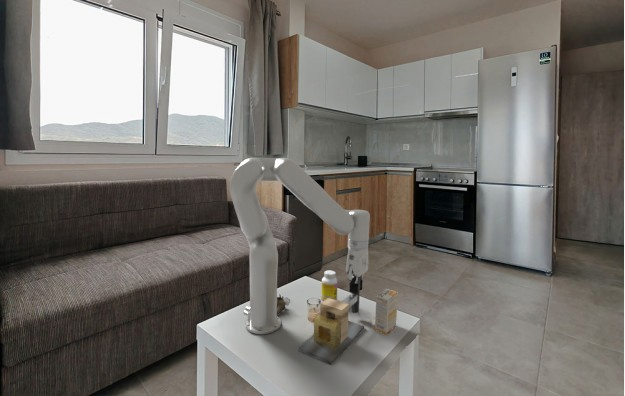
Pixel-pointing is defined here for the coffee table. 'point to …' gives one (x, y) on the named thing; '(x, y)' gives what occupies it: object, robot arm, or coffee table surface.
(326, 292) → the supplement bottle
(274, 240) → the robot arm
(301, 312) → the coffee table surface
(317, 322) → the yellow square frame
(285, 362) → the coffee table surface
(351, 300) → the crank handle
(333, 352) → the block
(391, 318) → the supplement box
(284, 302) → the eagle figurine
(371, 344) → the coffee table surface
